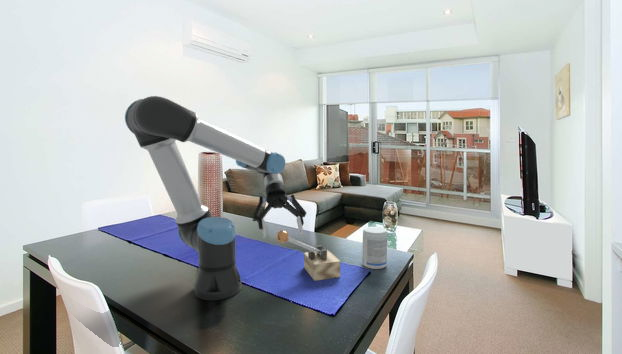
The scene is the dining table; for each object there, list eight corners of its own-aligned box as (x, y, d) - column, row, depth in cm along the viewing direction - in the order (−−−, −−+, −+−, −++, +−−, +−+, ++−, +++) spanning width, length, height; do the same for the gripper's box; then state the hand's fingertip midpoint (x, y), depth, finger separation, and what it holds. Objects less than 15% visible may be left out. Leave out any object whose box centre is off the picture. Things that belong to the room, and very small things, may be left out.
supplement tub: (391, 266, 123) (393, 230, 121) (374, 272, 117) (375, 234, 116) (373, 258, 131) (375, 224, 129) (357, 263, 125) (358, 228, 124)
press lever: (323, 261, 114) (275, 242, 107) (319, 257, 119) (273, 238, 111) (328, 250, 115) (281, 230, 108) (324, 246, 119) (278, 227, 112)
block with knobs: (314, 280, 110) (314, 255, 109) (304, 267, 121) (304, 244, 120) (340, 276, 113) (340, 251, 112) (327, 264, 124) (328, 241, 123)
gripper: (302, 190, 130) (313, 236, 118) (242, 194, 122) (247, 243, 110) (306, 180, 125) (318, 227, 113) (243, 182, 117) (249, 233, 105)
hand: (283, 235), depth 111 cm, fingers open, 13 cm apart
